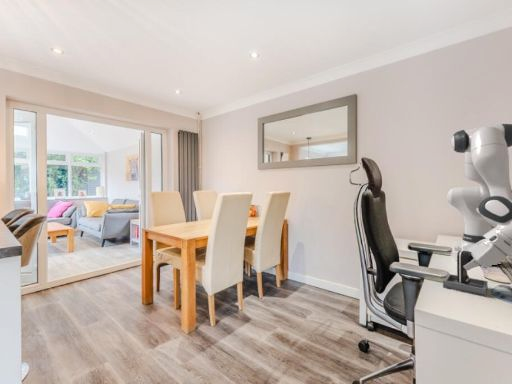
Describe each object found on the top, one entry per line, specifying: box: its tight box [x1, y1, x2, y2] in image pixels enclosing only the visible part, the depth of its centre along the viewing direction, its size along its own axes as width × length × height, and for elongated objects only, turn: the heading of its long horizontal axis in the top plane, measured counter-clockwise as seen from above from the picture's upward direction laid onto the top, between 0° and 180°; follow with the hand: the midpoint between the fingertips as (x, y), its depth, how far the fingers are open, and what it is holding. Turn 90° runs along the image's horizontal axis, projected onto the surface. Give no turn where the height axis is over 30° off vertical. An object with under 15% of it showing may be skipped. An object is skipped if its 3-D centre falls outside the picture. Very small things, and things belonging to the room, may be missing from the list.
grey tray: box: [442, 273, 488, 298], centre depth 92 cm, size 12×12×2 cm
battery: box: [456, 250, 473, 284], centre depth 92 cm, size 7×4×11 cm, turn 130°
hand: (463, 265), depth 93 cm, fingers closed on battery, 7 cm apart
